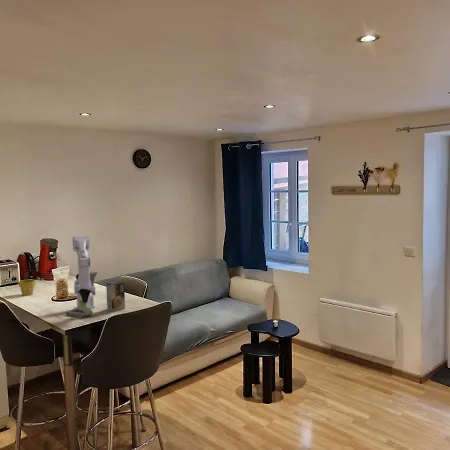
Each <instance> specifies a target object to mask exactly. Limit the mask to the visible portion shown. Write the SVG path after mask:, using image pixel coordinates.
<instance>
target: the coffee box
mask: <svg viewBox="0 0 450 450" xmlns="http://www.w3.org/2000/svg"><path fill="white" fill-rule="evenodd" d="M105 284H106V309H107V310H108V311H111V312H113V311H114V312H115V311H119V310H123V309H124V310H125V309H126V299H125V298H126V297H125V294H126V293H125V282H123V281H120V280H119V281H118V280H117V281H112V282H106V283H105Z"/></svg>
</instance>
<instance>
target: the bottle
mask: <svg viewBox="0 0 450 450" xmlns="http://www.w3.org/2000/svg"><path fill="white" fill-rule="evenodd" d="M79 302H80V308H81V309H82V311H83V313H84V314H85V316H86V317H90V316H91V314H92V315H93V313H94V311H93V310H92V308H90V307H89V305H88V304H87V302H86V303H84V302H83V301H82V299H80V300H79Z"/></svg>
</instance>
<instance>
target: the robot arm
mask: <svg viewBox="0 0 450 450" xmlns="http://www.w3.org/2000/svg"><path fill="white" fill-rule="evenodd" d="M71 239H72V240H71V242H72V250H73V251H74V252H75V253H76V255H77V267H78V268H77V269H78V274H79V278H78V279H76V280H75V281H74V284H73V290H74V294H75V295H76V305H77V306H76V307H74V308H73V310H74V309H81V308H80V302H79V300H80V299H82V301H83V302H84V303H86V302H87V304H88V305H89V307H90V308H91V309H93V308H95V302H94V295H93V294H92V293H91V292H92V291H95V292H96V287H95V286H94V287H92V286H91V281H90V272H91V270H90V268H91V258H90V256H89V249H90V245H91V244H90V243H91V241H90V236H88V235H87V236H73V237H72V238H71Z"/></svg>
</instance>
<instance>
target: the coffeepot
mask: <svg viewBox="0 0 450 450" xmlns="http://www.w3.org/2000/svg"><path fill="white" fill-rule="evenodd" d="M97 274H98V272H95V271H90V281H91V286H92V287H95V284H94V283H95V278H96V276H97ZM78 278H79V273H77V274H76V275H75V279H76V280H77V279H78ZM91 293H92V294H93V296H96V290H95V291H92V292H91Z"/></svg>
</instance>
